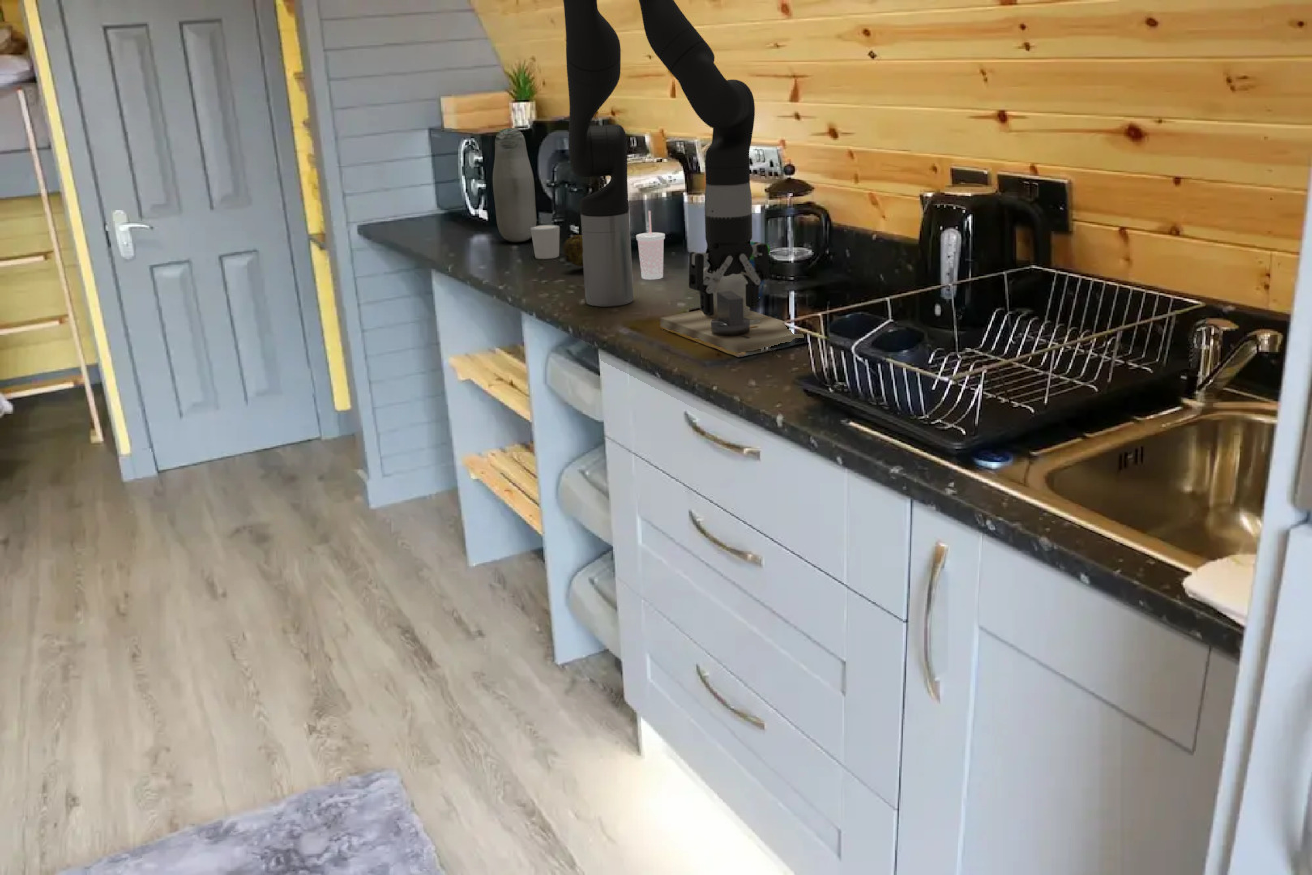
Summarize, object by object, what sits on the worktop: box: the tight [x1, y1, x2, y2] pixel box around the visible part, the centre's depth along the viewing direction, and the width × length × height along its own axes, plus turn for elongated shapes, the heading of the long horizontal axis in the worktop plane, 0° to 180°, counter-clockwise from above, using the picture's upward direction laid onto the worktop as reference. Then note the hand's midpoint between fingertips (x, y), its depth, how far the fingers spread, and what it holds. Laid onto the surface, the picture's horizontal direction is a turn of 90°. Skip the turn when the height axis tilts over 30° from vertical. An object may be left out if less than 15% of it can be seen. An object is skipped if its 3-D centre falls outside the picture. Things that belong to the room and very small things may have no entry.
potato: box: [563, 234, 583, 267], centre depth 246 cm, size 8×13×8 cm, turn 112°
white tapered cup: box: [530, 224, 560, 260], centre depth 262 cm, size 7×7×7 cm
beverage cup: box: [635, 210, 666, 280], centre depth 234 cm, size 6×6×14 cm
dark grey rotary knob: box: [711, 291, 761, 335], centre depth 183 cm, size 8×6×6 cm
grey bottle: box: [492, 127, 537, 243], centre depth 279 cm, size 10×10×28 cm
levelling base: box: [659, 266, 804, 353], centre depth 188 cm, size 24×15×11 cm, turn 31°
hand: (730, 310), depth 183 cm, fingers open, 8 cm apart
